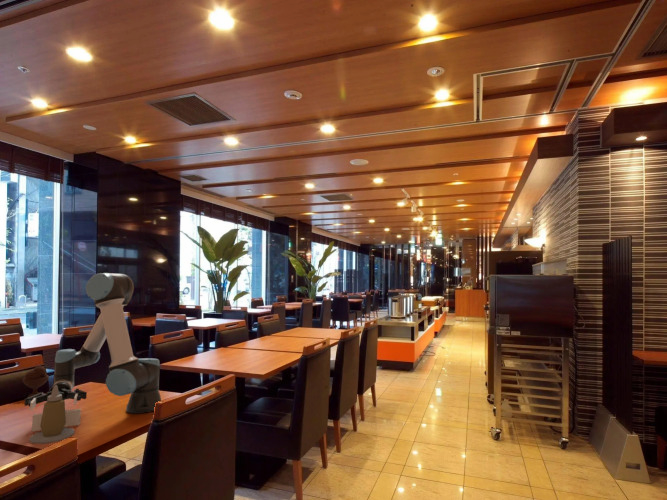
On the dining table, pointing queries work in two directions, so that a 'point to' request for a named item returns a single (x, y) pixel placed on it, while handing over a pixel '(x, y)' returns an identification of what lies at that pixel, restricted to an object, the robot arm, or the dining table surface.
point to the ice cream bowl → (35, 379)
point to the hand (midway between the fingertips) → (53, 403)
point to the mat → (49, 439)
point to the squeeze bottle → (53, 414)
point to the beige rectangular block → (71, 419)
